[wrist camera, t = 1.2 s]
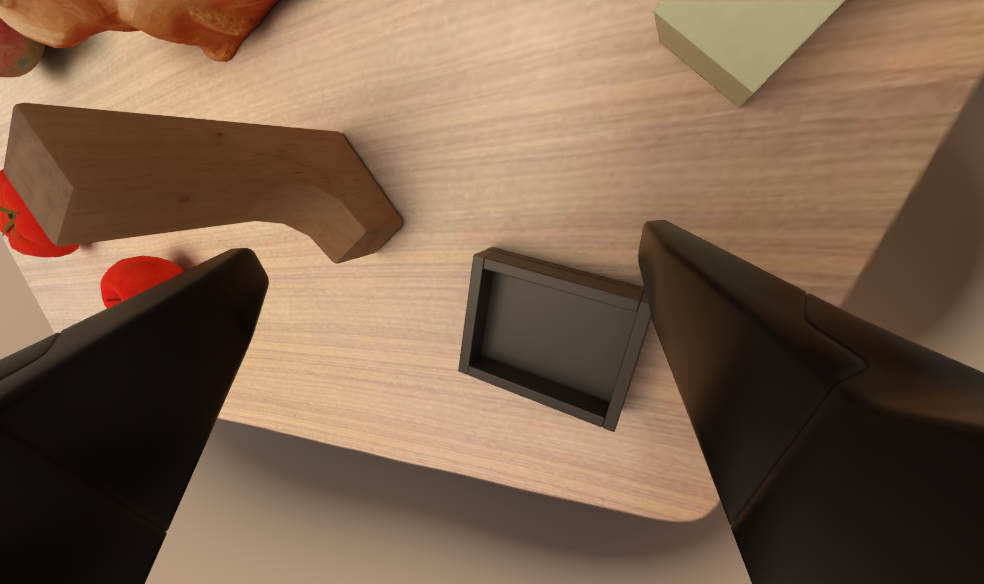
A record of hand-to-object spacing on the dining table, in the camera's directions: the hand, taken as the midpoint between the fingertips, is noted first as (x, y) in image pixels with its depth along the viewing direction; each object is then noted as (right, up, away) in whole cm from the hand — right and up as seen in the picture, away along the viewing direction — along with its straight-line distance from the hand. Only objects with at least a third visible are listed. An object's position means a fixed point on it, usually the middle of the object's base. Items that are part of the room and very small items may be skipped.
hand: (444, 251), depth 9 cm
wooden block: (-10, +7, +24) cm, 26 cm away
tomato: (-53, +10, +44) cm, 70 cm away
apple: (-34, 0, +38) cm, 51 cm away
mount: (+6, -3, +19) cm, 21 cm away
